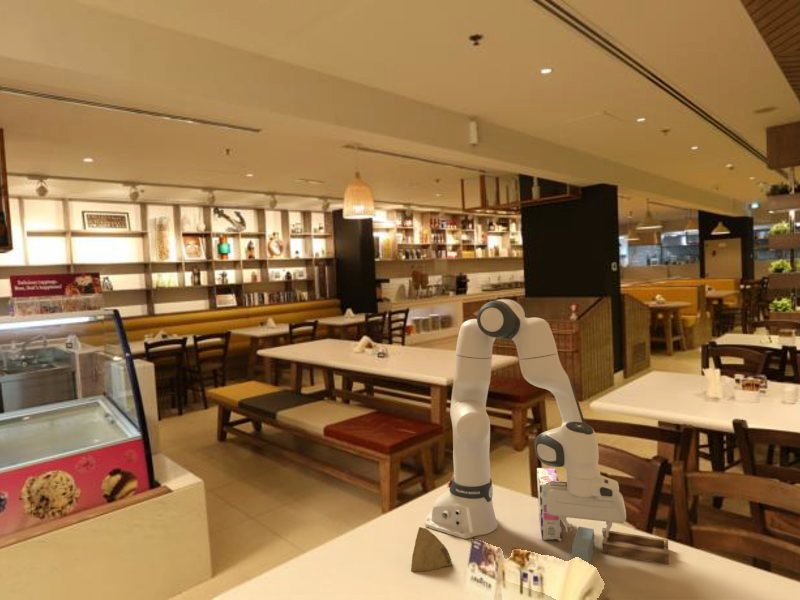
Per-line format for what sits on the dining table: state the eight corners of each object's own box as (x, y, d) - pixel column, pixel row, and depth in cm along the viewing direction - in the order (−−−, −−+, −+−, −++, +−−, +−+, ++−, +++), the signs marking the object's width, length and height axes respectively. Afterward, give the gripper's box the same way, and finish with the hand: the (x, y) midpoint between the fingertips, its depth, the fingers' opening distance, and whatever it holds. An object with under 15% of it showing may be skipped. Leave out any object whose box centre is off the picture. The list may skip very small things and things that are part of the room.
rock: (458, 549, 143) (424, 538, 148) (454, 534, 138) (419, 523, 142) (445, 589, 136) (410, 576, 140) (440, 575, 131) (404, 562, 135)
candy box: (562, 541, 149) (560, 485, 148) (541, 540, 150) (539, 484, 149) (558, 519, 162) (555, 467, 161) (538, 518, 163) (536, 466, 163)
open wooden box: (602, 552, 142) (601, 537, 142) (605, 538, 149) (604, 524, 149) (668, 564, 135) (668, 548, 134) (668, 549, 142) (667, 534, 142)
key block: (572, 565, 137) (571, 547, 137) (579, 543, 147) (578, 526, 147) (588, 568, 135) (587, 550, 135) (594, 546, 146) (593, 528, 145)
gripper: (542, 484, 142) (545, 534, 143) (623, 491, 133) (627, 544, 134) (546, 476, 148) (549, 523, 148) (624, 482, 139) (627, 532, 140)
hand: (587, 533), depth 141 cm, fingers open, 8 cm apart
